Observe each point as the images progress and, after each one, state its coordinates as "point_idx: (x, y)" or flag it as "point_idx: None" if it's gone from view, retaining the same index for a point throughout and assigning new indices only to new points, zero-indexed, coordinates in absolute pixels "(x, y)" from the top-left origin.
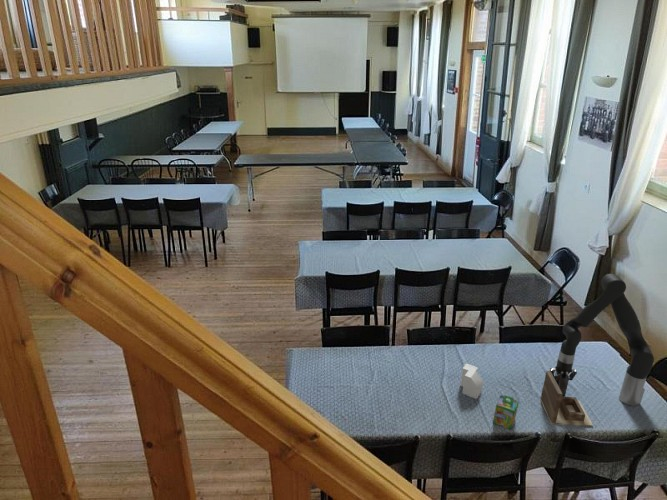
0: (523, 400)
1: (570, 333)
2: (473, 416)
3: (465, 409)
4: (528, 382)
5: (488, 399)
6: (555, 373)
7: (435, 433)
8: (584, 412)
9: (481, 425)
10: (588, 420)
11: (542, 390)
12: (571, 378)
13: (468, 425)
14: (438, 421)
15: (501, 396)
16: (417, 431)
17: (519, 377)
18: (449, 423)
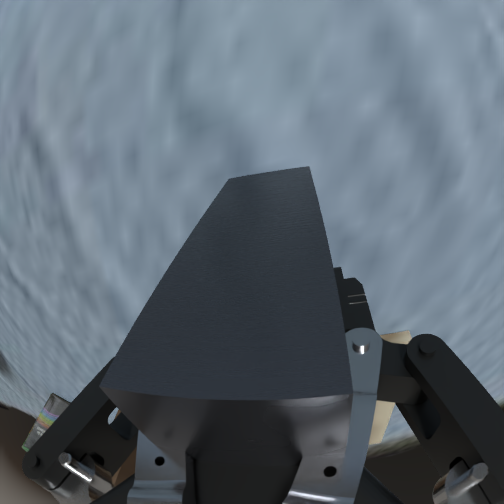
0: (80, 352)
1: None
2: (26, 391)
3: (3, 371)
4: (49, 188)
5: (5, 343)
6: (160, 293)
7: (19, 409)
8: (385, 407)
9: None
10: (375, 433)
11: (119, 412)
12: (416, 415)
13: (37, 408)
14: (3, 390)
15: (26, 451)
16: (4, 400)
17: (5, 152)
18: (15, 397)
